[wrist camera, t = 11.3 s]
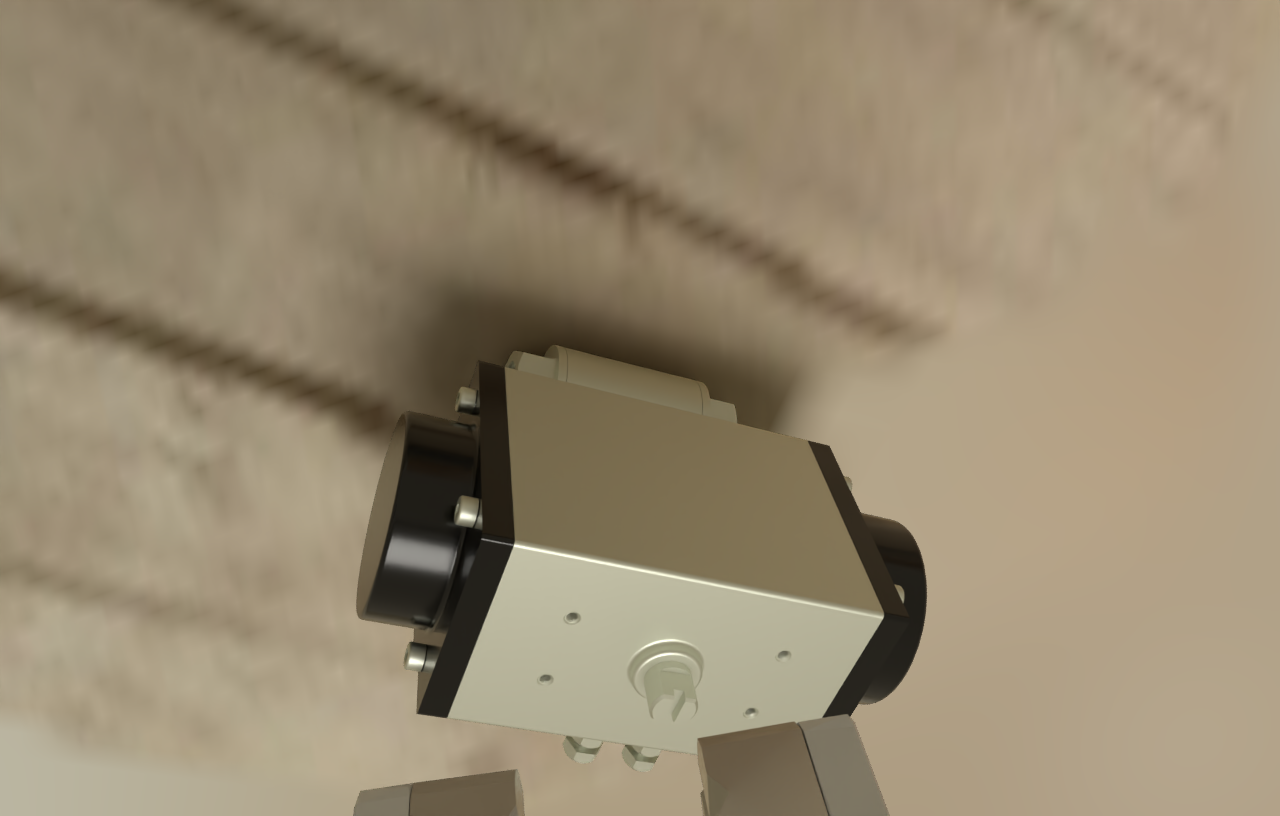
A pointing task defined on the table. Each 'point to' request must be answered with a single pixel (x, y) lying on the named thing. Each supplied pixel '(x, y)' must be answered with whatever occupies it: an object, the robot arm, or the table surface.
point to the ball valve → (630, 563)
